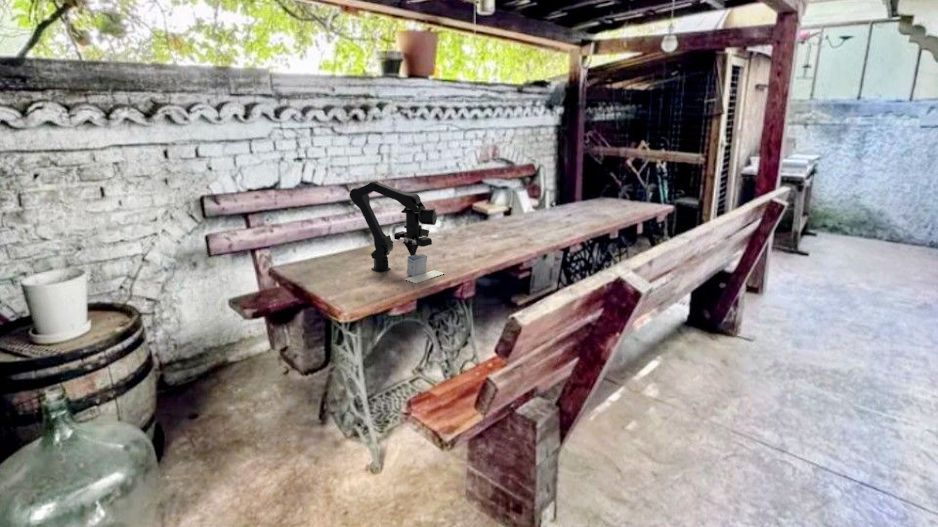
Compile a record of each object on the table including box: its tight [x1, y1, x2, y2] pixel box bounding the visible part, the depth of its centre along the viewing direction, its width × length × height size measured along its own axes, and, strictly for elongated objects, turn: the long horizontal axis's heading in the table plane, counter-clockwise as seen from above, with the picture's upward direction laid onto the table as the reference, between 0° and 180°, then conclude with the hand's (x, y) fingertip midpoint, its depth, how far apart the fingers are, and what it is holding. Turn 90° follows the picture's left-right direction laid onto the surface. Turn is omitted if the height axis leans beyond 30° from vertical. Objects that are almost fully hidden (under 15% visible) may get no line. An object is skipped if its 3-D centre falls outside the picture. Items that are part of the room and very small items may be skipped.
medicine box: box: [406, 252, 428, 277], centre depth 227 cm, size 8×4×9 cm, turn 141°
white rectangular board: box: [404, 269, 446, 284], centre depth 225 cm, size 6×18×1 cm, turn 139°
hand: (412, 257), depth 228 cm, fingers closed
